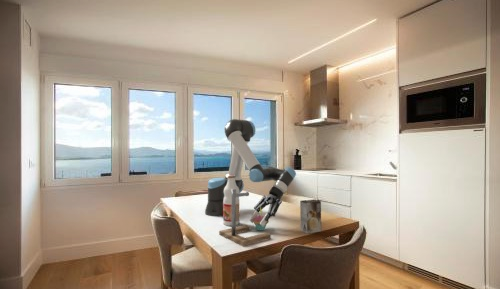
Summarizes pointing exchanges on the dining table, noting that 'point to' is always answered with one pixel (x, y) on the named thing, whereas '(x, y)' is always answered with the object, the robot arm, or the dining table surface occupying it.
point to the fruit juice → (230, 201)
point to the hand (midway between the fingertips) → (256, 223)
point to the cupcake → (257, 222)
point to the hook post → (235, 208)
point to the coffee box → (310, 216)
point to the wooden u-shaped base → (241, 240)
